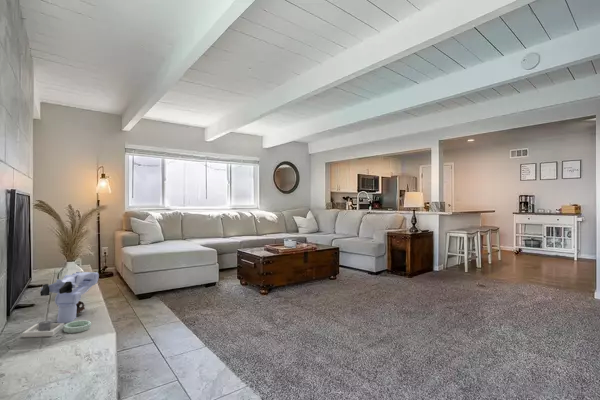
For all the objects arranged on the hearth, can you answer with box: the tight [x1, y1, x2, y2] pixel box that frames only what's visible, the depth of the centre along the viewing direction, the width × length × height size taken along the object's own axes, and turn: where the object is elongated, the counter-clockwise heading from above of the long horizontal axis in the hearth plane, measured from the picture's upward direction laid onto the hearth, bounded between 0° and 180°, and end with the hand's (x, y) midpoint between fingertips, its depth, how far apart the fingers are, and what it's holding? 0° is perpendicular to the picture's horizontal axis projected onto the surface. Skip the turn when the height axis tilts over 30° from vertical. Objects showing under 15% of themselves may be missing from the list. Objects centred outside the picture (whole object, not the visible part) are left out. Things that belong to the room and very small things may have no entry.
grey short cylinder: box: [38, 320, 52, 331], centre depth 153 cm, size 5×5×4 cm
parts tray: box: [21, 322, 65, 338], centre depth 153 cm, size 12×12×3 cm
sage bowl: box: [63, 319, 92, 334], centre depth 159 cm, size 11×11×3 cm
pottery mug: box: [76, 300, 86, 315], centre depth 183 cm, size 12×10×8 cm
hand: (50, 292), depth 151 cm, fingers open, 7 cm apart
